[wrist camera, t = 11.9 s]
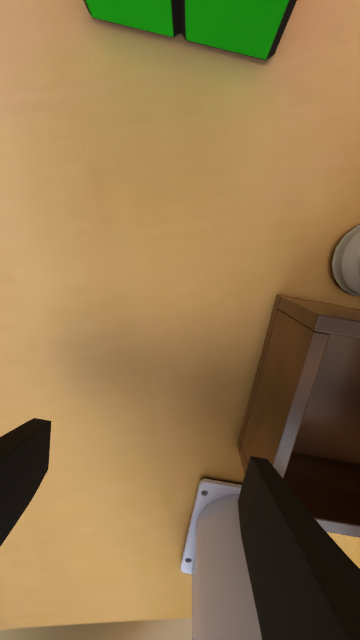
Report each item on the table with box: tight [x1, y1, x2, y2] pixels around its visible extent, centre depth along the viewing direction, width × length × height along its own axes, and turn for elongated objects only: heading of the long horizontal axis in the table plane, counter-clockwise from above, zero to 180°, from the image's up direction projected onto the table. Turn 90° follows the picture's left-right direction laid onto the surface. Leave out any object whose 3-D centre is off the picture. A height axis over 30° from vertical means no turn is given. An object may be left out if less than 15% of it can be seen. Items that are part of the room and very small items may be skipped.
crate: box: [237, 295, 360, 537], centre depth 16 cm, size 12×10×6 cm
